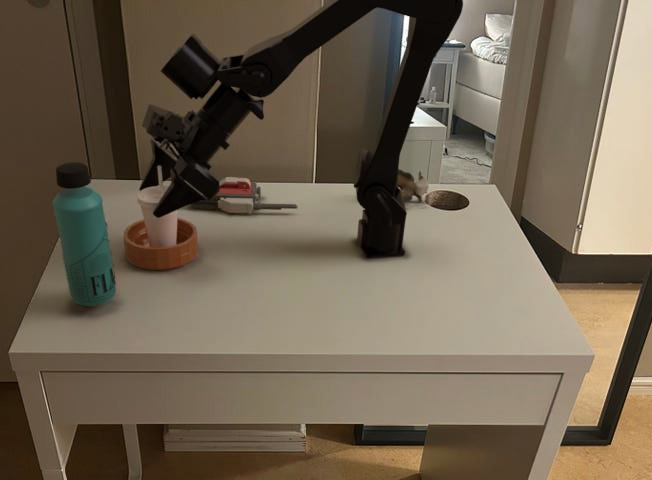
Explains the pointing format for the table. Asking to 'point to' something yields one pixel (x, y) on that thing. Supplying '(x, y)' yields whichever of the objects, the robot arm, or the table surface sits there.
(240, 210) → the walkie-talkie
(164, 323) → the table surface
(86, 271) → the beverage bottle
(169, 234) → the smoothie
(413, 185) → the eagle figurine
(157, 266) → the bowl
